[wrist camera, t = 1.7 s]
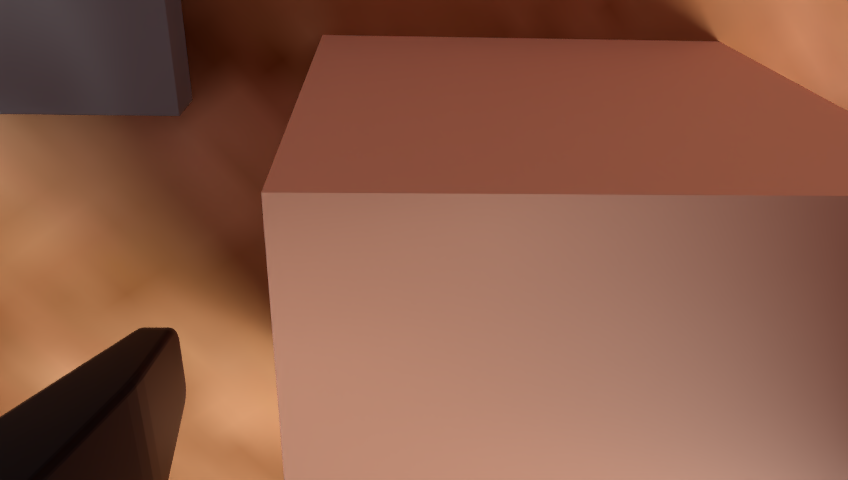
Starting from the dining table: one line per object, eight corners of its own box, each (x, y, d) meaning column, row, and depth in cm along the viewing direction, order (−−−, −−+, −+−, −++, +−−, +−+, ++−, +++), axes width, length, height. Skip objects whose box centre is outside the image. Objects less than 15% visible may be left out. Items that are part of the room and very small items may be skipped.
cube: (653, 360, 14) (814, 666, 9) (334, 362, 14) (300, 678, 8) (716, 39, 11) (1006, 196, 6) (322, 33, 11) (261, 192, 6)
